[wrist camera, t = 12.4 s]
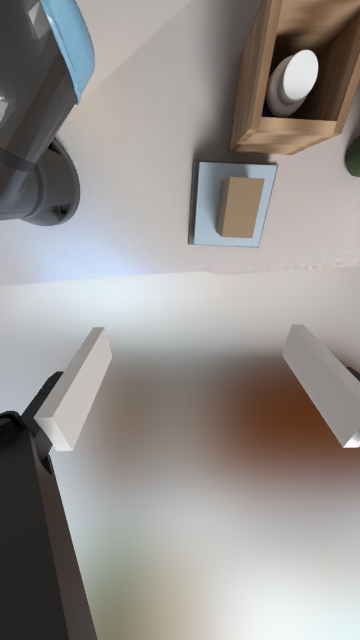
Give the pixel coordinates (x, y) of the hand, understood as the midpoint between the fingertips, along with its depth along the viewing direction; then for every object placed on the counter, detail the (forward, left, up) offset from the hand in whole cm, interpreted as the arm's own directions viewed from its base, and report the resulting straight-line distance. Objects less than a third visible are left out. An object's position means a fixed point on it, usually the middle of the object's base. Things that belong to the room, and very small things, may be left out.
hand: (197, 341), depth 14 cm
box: (+12, +22, -33) cm, 41 cm away
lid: (+8, +8, -33) cm, 34 cm away
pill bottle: (+12, +22, -33) cm, 42 cm away
